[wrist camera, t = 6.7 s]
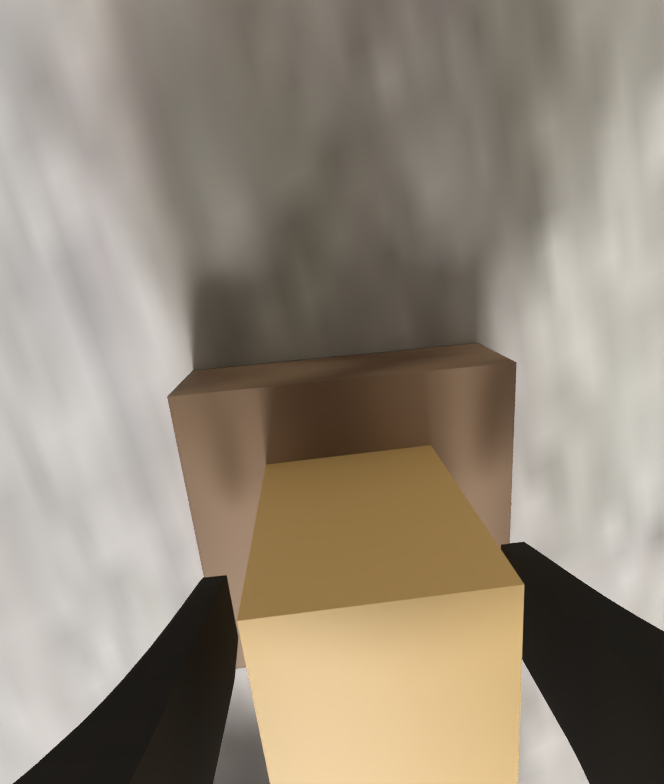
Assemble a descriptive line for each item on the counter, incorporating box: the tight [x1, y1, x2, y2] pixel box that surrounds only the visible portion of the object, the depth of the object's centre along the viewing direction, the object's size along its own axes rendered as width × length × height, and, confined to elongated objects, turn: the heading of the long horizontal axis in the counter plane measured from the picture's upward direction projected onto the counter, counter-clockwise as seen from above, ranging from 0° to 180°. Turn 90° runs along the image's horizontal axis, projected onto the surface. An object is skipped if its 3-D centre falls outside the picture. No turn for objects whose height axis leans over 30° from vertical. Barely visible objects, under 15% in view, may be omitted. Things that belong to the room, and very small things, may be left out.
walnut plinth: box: [167, 343, 516, 668], centre depth 16 cm, size 10×10×3 cm
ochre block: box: [237, 445, 524, 784], centre depth 11 cm, size 5×5×6 cm
